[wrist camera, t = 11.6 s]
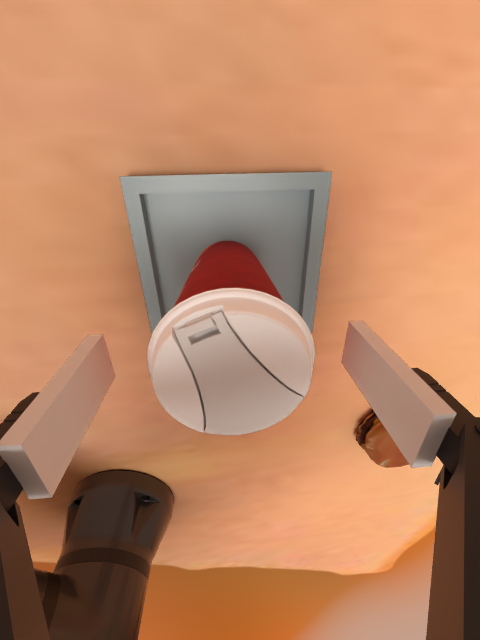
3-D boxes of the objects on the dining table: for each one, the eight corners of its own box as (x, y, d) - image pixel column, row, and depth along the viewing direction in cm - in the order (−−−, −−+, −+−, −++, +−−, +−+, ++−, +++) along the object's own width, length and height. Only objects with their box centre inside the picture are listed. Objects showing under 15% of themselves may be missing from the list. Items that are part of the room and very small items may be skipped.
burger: (437, 404, 37) (464, 433, 33) (399, 448, 41) (418, 478, 37) (374, 390, 35) (394, 419, 31) (341, 437, 39) (354, 468, 35)
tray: (159, 342, 30) (155, 353, 28) (127, 176, 22) (119, 176, 20) (305, 335, 30) (310, 345, 28) (323, 171, 23) (332, 171, 21)
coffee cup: (165, 250, 24) (98, 350, 11) (251, 210, 23) (290, 267, 10) (208, 324, 28) (197, 462, 15) (284, 293, 27) (343, 413, 14)
